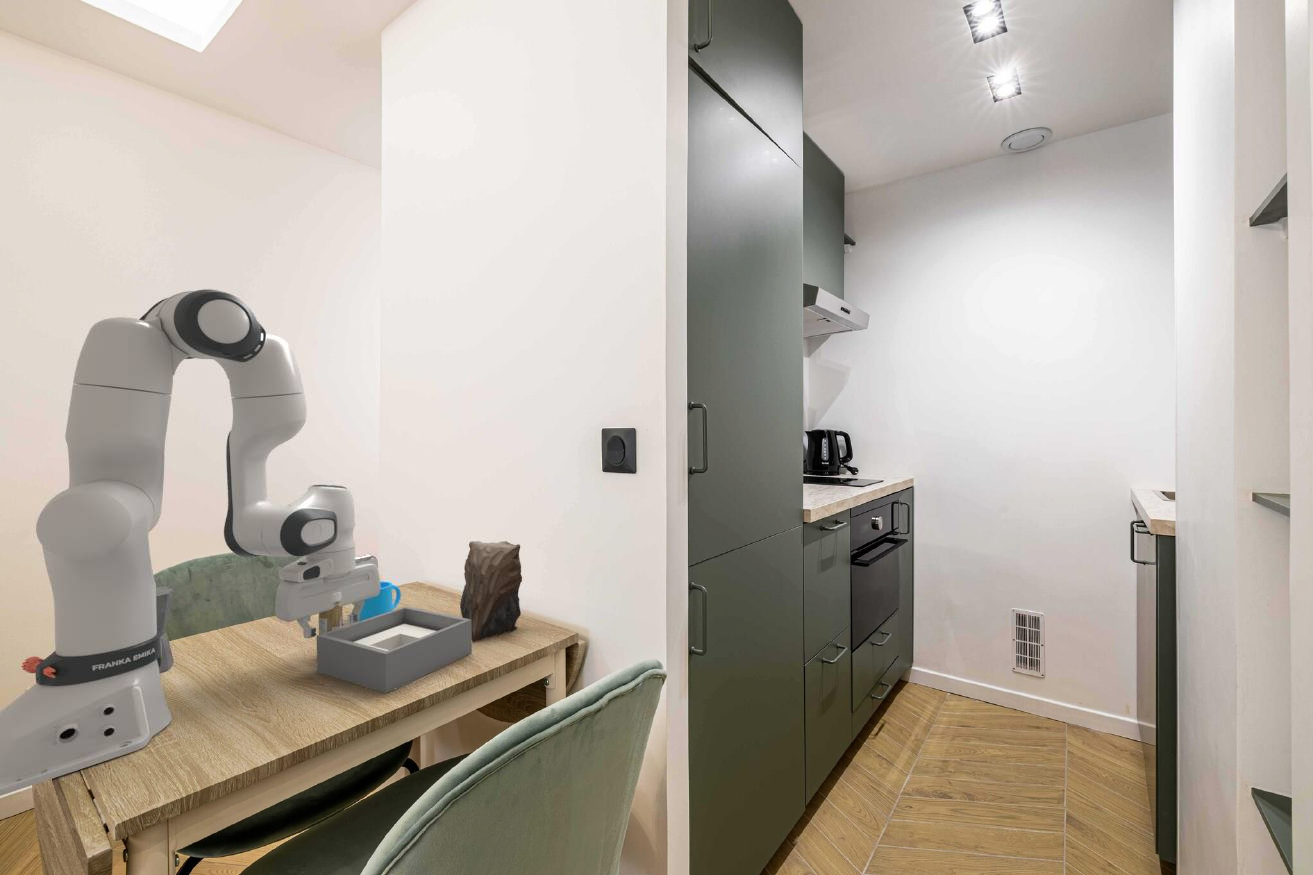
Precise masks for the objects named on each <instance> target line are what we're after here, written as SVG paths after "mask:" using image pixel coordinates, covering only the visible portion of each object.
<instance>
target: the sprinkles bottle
mask: <svg viewBox="0 0 1313 875" xmlns="http://www.w3.org/2000/svg"><path fill="white" fill-rule="evenodd" d="M341 598H342V596H341V592H337V593H334V594H332V602H336V603H334V604H335V606H334V608H333V609H331V610H328V611H325V612H322V613H318V635H320V634H323V633H326V632H329V631H332V630H335V629H338V628H341V627H344V616H343V614H344V613H343V606H342V607H339V605H336V604H339V603H340V602H338V601H340V600H341Z"/></svg>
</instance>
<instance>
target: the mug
mask: <svg viewBox="0 0 1313 875" xmlns="http://www.w3.org/2000/svg"><path fill="white" fill-rule="evenodd" d="M380 586H381V590H380V592H379V594H378V596H375V597H372V598H368V599H365V600H364V606H363V608H362V610H361V612H360V614H359V621H362V620H366V619H369V618H372V617H375V616H378V615H381V614H384V613H387V612H390V611H393V610H395V608H397V607H398V605H399V604H400V601H401V599H402V593H401V590H400V588H399V587H398V586H397V585H396V584H393V583H392V582H389V581H380ZM393 590H394V591H395V594H396V596H395V600H394V601H393Z"/></svg>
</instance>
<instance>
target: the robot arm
mask: <svg viewBox="0 0 1313 875" xmlns="http://www.w3.org/2000/svg"><path fill="white" fill-rule="evenodd" d="M191 359H198V360H213V361H214V362H216V363H217V364H219V366H220V367H221V368H222V369H223V371H224V372H225V375H226V377H227V379H228V380H229V381H228V382H229V384H228V385H229V391H230V397H231V403H232V404H231V405H232V422H231V424H232V425H231V428H230V431H229V433H228V435H227V439H226V450H225V452H226V454H225V456H226V457H225V458H226V479H227V511H226V518H225V521H224V526H223V527H224V528H223V538H224V541H225V544H226V546H227V547H228V548H229V550H230V551H231V552H232V553H233V554H235V555H238V556H240V557H243V558H244V557H245V558H252V557H254V558H255V557H273V558H274V557H276V558H277V557H278V558H283V557H286V558H288V557H289V558H299V559H297V560H295V561H293V562H292V563H289V564H288V565H286V566H283V567H282V568H280V569H279V571H278V577H279V579H281V580H283V581H281V582H280V583H279V584H278V586H277V588H276V593H275V604H274V605H275V606H274V610H275V613H274V614H275V616H276V618H277V619H279V620H280V621H282V622H287V623H291V622H294V621H296V622H297V624H298V625H299V626H300V627H301V629H303V638H304V639H307V640H308V639H311V638H314V637H317V633H316V632H317V628H316V627H313V626H310V624H309V622H311V616H315V615H317V614H318V615H319V613H322V612H325V611H328V610H331V609H333V608H334V606H335V604H334V603H336V602H332V594H334V593H337V592H341V596H342V598H341V600H340V601H338V602H340V603H339V604H336V605H339V607H342V608H343V607H344V606H347V605H348V606H349V605H352V606H353V608H352V611H351V613H349V614H347V618H348V619H347V622H348V624H353V623H356V622H359V614H360V612H361V610H362V608H363V606H364V600H365V599H368V598H372V597H375V596H378V594H379V592H380V590H381V586H380V582H381V578H380V574H379V570H378V569H379V561H378V558H377V556H374V555H372V554H365V555H363V556H362V555H361V556H356V543H355V540H354V535H353V534H354V529H355V524H356V523H355V522H356V520H355V507H354V499H353V495H352V492H351V491H350V489H348V488H347V487H345V486H343V485H334V484H332V485H330V484H313V485H310V486H308V489H307V491H306V492H305V493H304V494H303V495H301V497H299V498H298V499H297V500H295V501H293V502H291V503H289V504H287V505H273V503H271V502H270V501H269V499H268V495H267V494H268V493H267V491H268V489H267V460H268V457H269V455H270V453H271V452H273V450H274V449H275V448H277V447H279V446H281V445H282V444H284V443H286V442H288V441H290V440H291V439H293V438H294V437H296V436H297V434H299V433H300V431H301V430H302V428H303V427H304V425H305V423H306V421H307V403H306V397H305V396H306V395H305V393H304V392H305V390H304V384H303V381H302V375H301V373H300V369H299V365H298V362H297V360H296V356H295V353H294V351H293V349H292V347H291V345H290V343H289V342H288V341H286V340H285V339H284V338H283V337H280V336H277V335H274V334H272V333H271V334H270V333H266V330H265V328H264V327H263V326H262V325H261V323H260V322H259V321H258V320H257V317H256V316H255V314H254V312H253V311H252V310H251V308H250V307H249V305H248V304H247V303H246V302H245V301H243V300H242V299H241V298H239V297H237V296H236V295H234V294H233V293H230V292H226V291H224V290H223V291H222V290H219V289H218V290H217V289H210V288H208V289H207V288H205V289H198V290H189V291H183V292H179V293H178V292H177V293H176V294H173V295H170V296H169V297H166V298H163V299H162V300H160V301H157V303H155V304H154V305H153V306H151V308H149V309H148V311H147V312H145V313H144V314H143V315H142V316H141V317H140V318H139V319H138V318H134V317H133V318H132V317H124V316H123V317H119V316H118V317H111V318H105V319H102V320H99V321H97V322H95V323H94V324H93V325H92V326H91V328H90V329H89V331H88V333H87V335H86V338H85V340H84V343H83V344H82V347H81V350H80V353H79V357H78V359H77V364H76V367H75V371H74V377H73V382H72V383H73V384H72V390H71V394H70V401H69V408H68V416H67V423H66V429H65V436H64V437H65V441H66V445H67V453H68V455H67V456H68V472H69V478H68V479H69V484H68V488H67V489H65V490H62V491H61V492H59V493H58V494H56V495H55V496H54V497H52V498H51V499H50V500H49V501H48V502H47V503H46V505H45V506H44V507H43V509H42V510H41V511H40V513H39V516H38V518H37V520H36V523H35V524H36V525H35V532H36V536H37V537H36V538H37V539H38V542H39V543H40V544H41V546H42V552H43V553H42V554H43V559H44V563H45V568H46V571H47V576H48V579H49V582H50V583H49V584H50V586H51V591H52V596H53V607H54V612H53V613H54V642H55V647H54V651H53V652H52V653H51V654H49V655H48V656H47V657H46V658H44V659H43V658H40V657H39V656H31V657H27V658H26V659H25V660H24V662H22V665H21V666H20V667H21V668H22V670H23V671H25V672H26V673H29V674H35V684H33V685H32V686H31V687H30V688H28V689H27V690H26V691H25V692H23V693H22V694H21V695H19V697H17V698H16V699H14V700H13V701H12V702H10V703H9V704H7V705H6V706H5V707H4V708H3V709H1V710H0V797H1V796H4V795H7V794H11V793H13V792H17V791H20V790H22V789H25V788H29V787H31V786H35V785H37V784H39V783H44V782H46V781H49V780H53V779H55V778H58V777H62V776H64V775H67V774H69V773H73V772H76V771H79V770H83V769H85V768H88V767H90V766H95V765H96V764H97V765H98V764H100V763H103V762H107V761H110V760H112V759H115V758H117V757H121V756H123V755H127V754H130V753H134V752H136V751H139V750H141V749H143V748H144V747H146V746H147V745H148V743H149V742H150V741H151V739H152V738H153V737H154V736H155V735H157V734H158V733H159V732H161V731H162V730H163V729H165V728H166V727H167V726H168V725H169V724H170V723H171V722H172V719H173V715H172V713H171V711H170V709H169V706H168V704H167V701H166V698H165V694H164V690H163V685H162V680H161V673H160V672H159V667H160V666H161V657H162V644H161V640H160V633H159V632H157V615H156V587H157V583H156V581H155V576H154V573H153V565H152V560H151V553H150V552H151V551H150V542H149V533H150V532H151V531H153V529H154V528H155V527H156V525H157V524H158V522H159V521H160V518H161V514H162V505H163V494H164V482H165V481H164V480H165V478H164V477H165V450H166V448H165V447H166V438H167V431H168V429H167V428H168V422H169V417H170V416H169V415H170V408H171V401H172V394H173V384H174V376H175V374H176V371H177V369H178V368H179V366H180V364H181V363H182V362H183V361H184V360H191Z"/></svg>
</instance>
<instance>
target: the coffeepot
mask: <svg viewBox="0 0 1313 875" xmlns="http://www.w3.org/2000/svg"><path fill="white" fill-rule="evenodd" d="M173 594H174V588H171V586H156V615H157V632H159V633H160V640H161V644H162V657H161V666H160V667H159V672H160V674H163V673H165V672H166V671H168V670H170V669H171V668H172V667H173V664H174V662H175V660H174V657H173V653H172V647H171V644H170V640H169V636H168V633H166V626H167V624H168V623H169V617H170V612H171V606H172V601H173V600H172V598H173Z"/></svg>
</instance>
